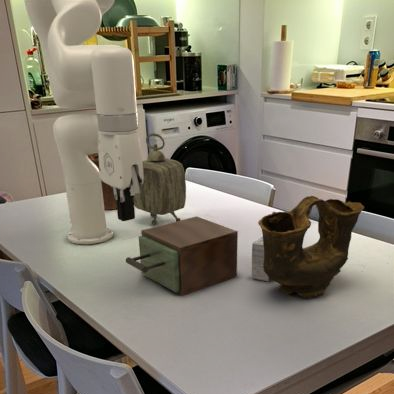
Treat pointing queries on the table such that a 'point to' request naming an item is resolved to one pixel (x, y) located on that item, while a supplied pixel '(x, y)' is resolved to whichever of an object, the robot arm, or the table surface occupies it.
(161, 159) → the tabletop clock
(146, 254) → the drawer
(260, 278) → the medicine box
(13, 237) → the table surface
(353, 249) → the table surface
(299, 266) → the pottery vessel
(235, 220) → the table surface
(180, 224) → the cabinet
